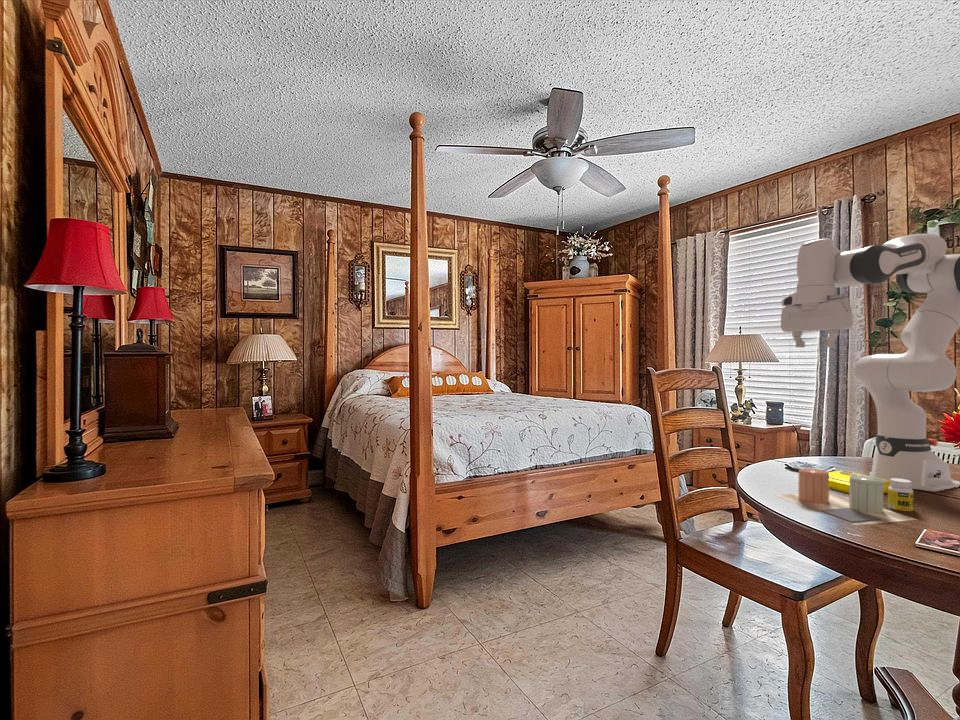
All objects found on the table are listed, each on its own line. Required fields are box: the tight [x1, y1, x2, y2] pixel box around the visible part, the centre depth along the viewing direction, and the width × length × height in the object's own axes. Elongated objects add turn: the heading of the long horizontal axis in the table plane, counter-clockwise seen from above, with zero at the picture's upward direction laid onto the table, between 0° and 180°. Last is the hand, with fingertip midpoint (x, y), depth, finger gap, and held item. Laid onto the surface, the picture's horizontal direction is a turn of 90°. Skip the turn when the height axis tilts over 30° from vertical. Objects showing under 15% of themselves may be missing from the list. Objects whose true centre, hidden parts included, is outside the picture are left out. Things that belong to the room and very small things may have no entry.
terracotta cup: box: [798, 467, 830, 504], centre depth 128 cm, size 6×6×8 cm
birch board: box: [775, 491, 919, 526], centre depth 122 cm, size 17×23×2 cm
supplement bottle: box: [887, 478, 914, 512], centre depth 121 cm, size 5×5×8 cm
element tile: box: [828, 470, 891, 494], centre depth 140 cm, size 15×15×5 cm
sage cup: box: [848, 475, 885, 514], centre depth 120 cm, size 6×6×8 cm
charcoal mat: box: [820, 508, 881, 524], centre depth 116 cm, size 8×8×1 cm
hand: (814, 347), depth 137 cm, fingers open, 8 cm apart
